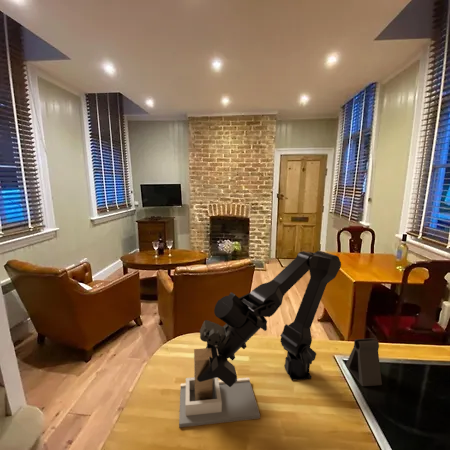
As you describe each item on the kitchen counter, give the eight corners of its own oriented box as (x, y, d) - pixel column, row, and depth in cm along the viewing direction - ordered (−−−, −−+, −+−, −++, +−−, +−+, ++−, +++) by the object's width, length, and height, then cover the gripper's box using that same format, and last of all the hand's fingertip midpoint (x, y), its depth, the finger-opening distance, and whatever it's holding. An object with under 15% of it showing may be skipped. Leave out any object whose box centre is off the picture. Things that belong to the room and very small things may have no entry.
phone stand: (381, 385, 76) (386, 348, 74) (362, 387, 76) (366, 349, 74) (363, 364, 85) (366, 331, 83) (345, 365, 84) (349, 331, 82)
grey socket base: (248, 381, 77) (249, 369, 76) (259, 418, 65) (260, 404, 64) (180, 388, 74) (180, 375, 73) (179, 427, 62) (178, 413, 62)
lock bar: (210, 388, 72) (211, 347, 70) (212, 402, 67) (212, 359, 65) (194, 390, 71) (194, 349, 69) (195, 404, 67) (194, 360, 65)
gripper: (214, 296, 75) (176, 334, 75) (223, 334, 57) (173, 384, 57) (240, 319, 77) (204, 356, 78) (257, 363, 59) (209, 410, 59)
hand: (198, 373), depth 68 cm, fingers closed on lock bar, 4 cm apart
